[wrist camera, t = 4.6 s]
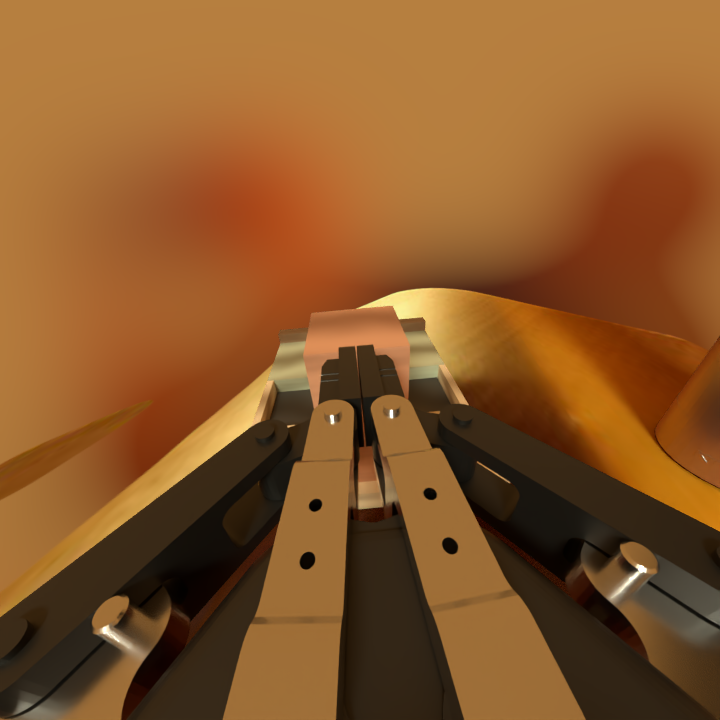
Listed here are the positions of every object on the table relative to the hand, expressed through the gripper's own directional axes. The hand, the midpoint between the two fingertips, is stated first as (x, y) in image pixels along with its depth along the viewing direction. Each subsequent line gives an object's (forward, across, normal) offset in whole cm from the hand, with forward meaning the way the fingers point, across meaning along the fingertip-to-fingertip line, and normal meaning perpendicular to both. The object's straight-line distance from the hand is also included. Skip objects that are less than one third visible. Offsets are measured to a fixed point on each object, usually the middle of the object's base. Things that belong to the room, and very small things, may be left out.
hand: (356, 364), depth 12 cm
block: (+6, 0, +13) cm, 15 cm away
